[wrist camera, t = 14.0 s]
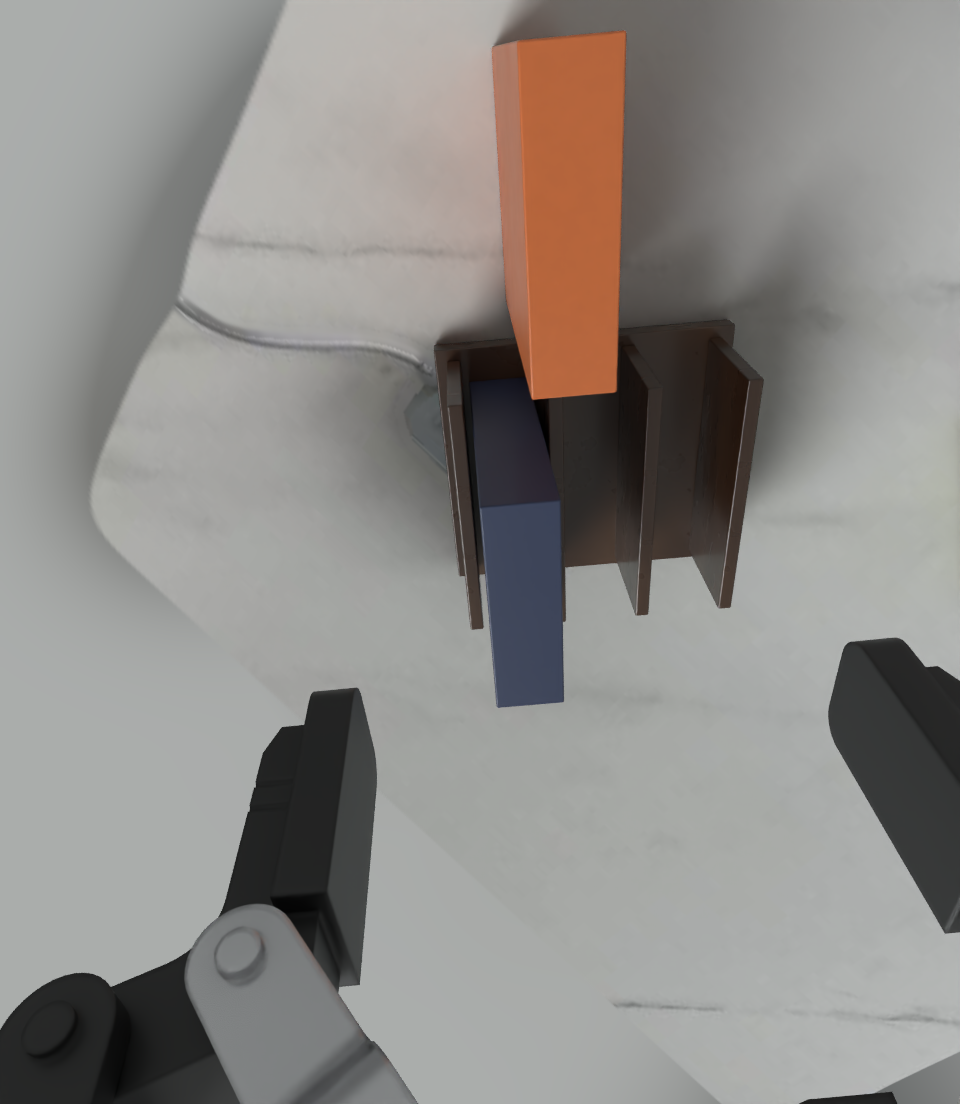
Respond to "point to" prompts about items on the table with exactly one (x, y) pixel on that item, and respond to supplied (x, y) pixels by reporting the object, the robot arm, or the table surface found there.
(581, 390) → the orange book
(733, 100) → the table surface
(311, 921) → the robot arm
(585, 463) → the book rack
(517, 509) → the navy book
